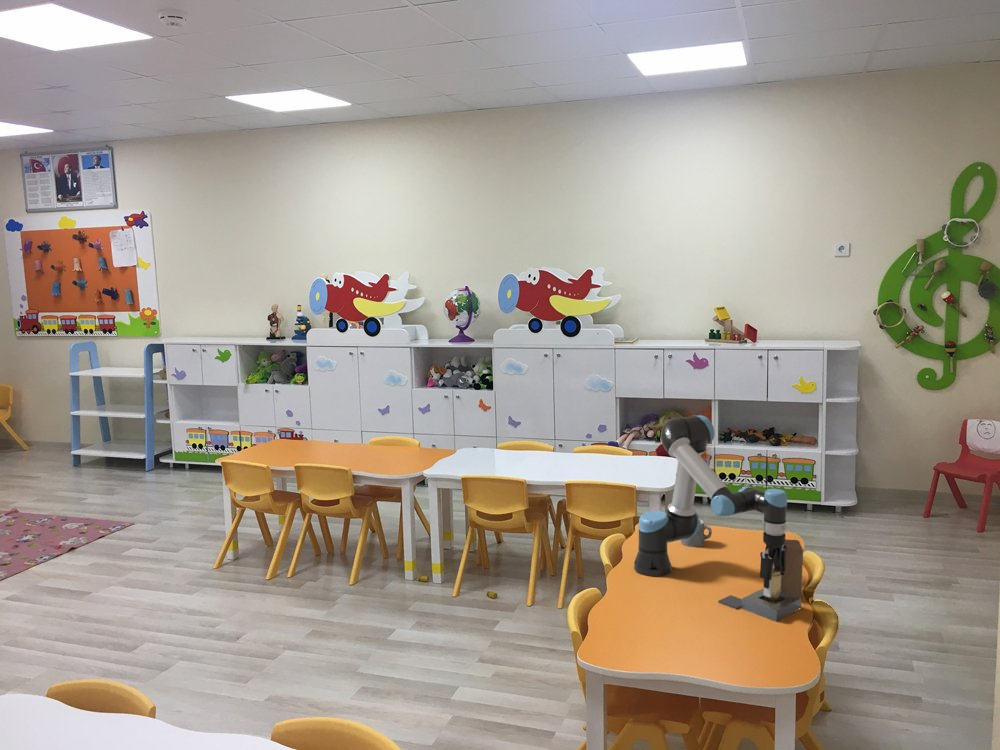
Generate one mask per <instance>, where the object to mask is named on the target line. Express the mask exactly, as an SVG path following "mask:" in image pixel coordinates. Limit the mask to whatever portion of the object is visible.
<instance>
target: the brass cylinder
mask: <svg viewBox="0 0 1000 750" xmlns="http://www.w3.org/2000/svg"><path fill="white" fill-rule="evenodd" d="M770 579H771V580H772V589H771V597H767V596H764V600H765V601H768V602H771V603H773V604H776V603H778V602H780V579H781V571H780V570H778V569H775V568H772V573H771V578H770Z"/></svg>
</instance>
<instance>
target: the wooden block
mask: <svg viewBox="0 0 1000 750" xmlns="http://www.w3.org/2000/svg"><path fill="white" fill-rule="evenodd" d="M784 545H786V546H787V549H786V567H785V572H783V573H785V574H784V575H781V592H784V593H787V594H790V595H793V596H796V597H799V598H801V599H802V586H803V584H802V583H803V561H804V549H803V547H802V545H801V542H800V540H798V539H786V538H785V544H784ZM773 568H774V563H773ZM782 568H783V567H782Z"/></svg>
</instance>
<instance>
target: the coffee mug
mask: <svg viewBox="0 0 1000 750" xmlns="http://www.w3.org/2000/svg"><path fill="white" fill-rule="evenodd" d="M698 519H699V518H698ZM699 520H700V528H699V531H698V532H697V534H696V535H695V536H693V537H690V538H688V539H682V540H680V544H681V545H683V546H685V547H689V548H696V547H698V548H699V547H702V546H703V545H704V541H705V540H708V539H710V538H711V537H712V534H713V531H712V527H711V526H709V525H704V523H705V522H704V520H702V519H699ZM705 530H708V534H705Z"/></svg>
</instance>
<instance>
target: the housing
mask: <svg viewBox="0 0 1000 750" xmlns="http://www.w3.org/2000/svg"><path fill="white" fill-rule="evenodd" d="M763 591H764V587H762V588H761V589H759V590H756V591H755V592H753V593H751V594H749V595H746V596H744V597H743V598H741V599H742V607H741V609H742V610H744V611H747V612H750V613H751V614H755V615H757V616H761V617H762V618H765V619H768V620H772V621H774V622H776V623H777V622H778V621H780V620H782V619H785V617H788V616H790V615H792V614H793V612H794V613H795V611H796V610H797V611H799V610H800V609H799V608H801V607H802V597H801V598H799V597H796V596H793V595H790V594H787V593H784V592H780V602H778V603H776V604H773V603H771V602H768V601H765V600H764V595H763ZM798 609H799V610H798ZM801 609H802V608H801ZM797 611H796V612H797ZM791 613H792V614H791ZM789 614H790V615H789Z"/></svg>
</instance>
